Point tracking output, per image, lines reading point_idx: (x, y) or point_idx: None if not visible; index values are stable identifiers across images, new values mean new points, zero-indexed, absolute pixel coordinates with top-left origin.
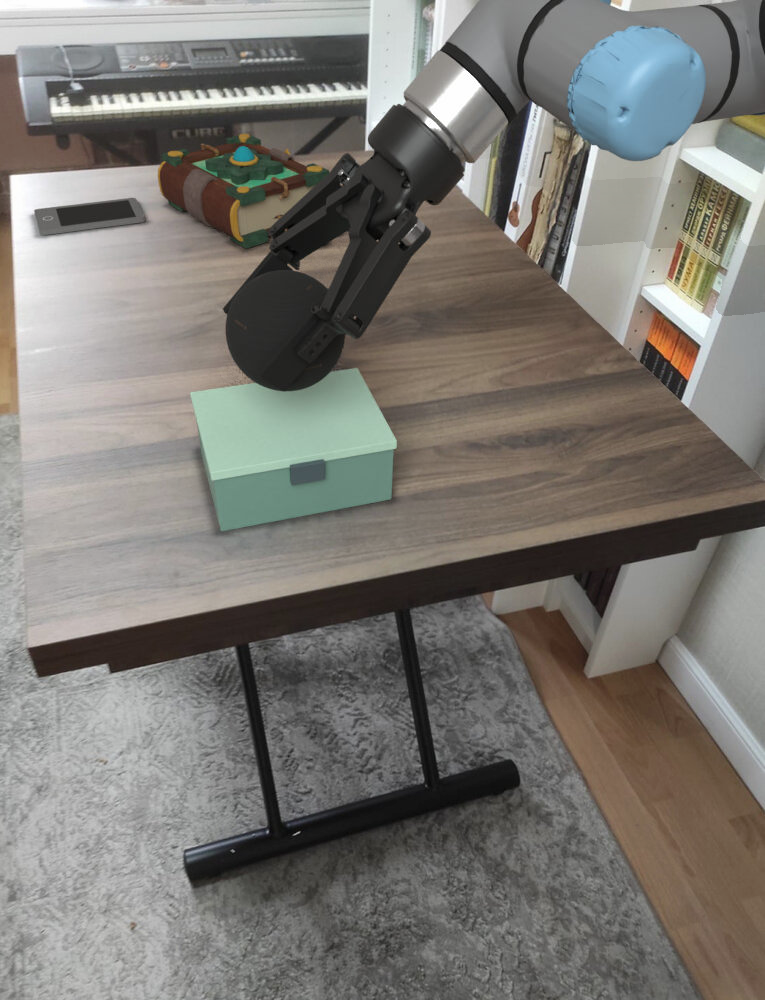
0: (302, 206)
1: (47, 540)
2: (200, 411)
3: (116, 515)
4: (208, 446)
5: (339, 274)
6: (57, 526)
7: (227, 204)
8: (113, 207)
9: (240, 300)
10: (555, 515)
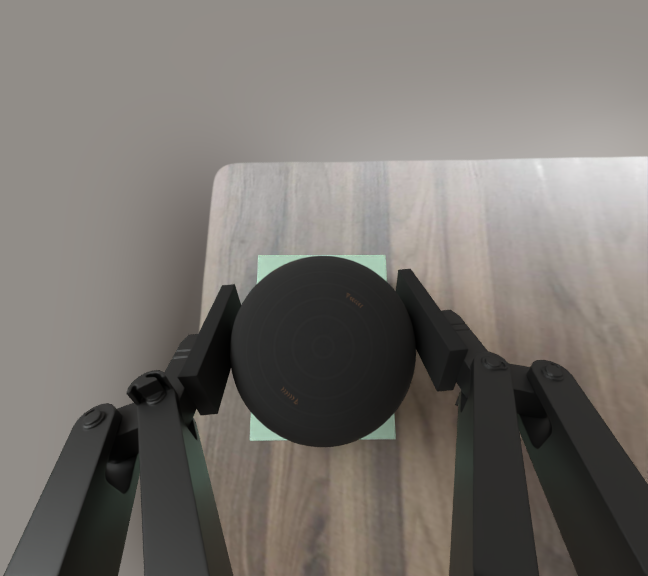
0: (602, 488)
1: (300, 170)
2: (350, 259)
3: (312, 210)
4: (295, 259)
5: (170, 480)
6: (312, 176)
7: None
8: None
9: (317, 266)
10: None
